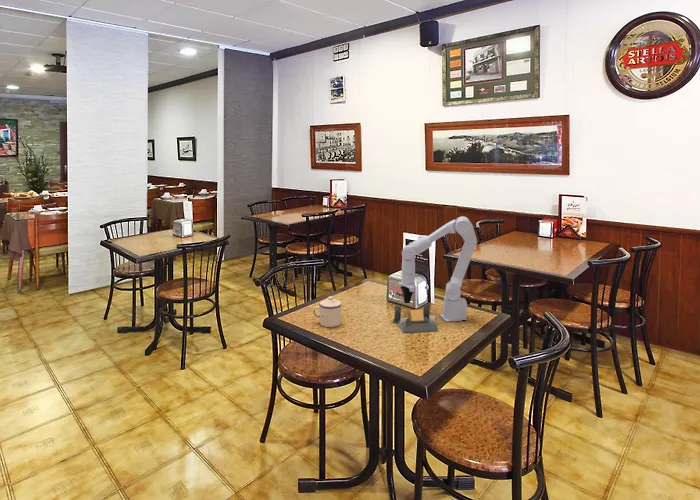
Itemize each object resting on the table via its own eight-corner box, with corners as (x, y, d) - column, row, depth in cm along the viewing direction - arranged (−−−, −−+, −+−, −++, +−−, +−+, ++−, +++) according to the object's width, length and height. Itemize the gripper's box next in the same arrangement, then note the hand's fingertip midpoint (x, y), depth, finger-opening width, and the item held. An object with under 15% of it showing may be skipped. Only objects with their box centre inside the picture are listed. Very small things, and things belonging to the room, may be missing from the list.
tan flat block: (424, 321, 182) (422, 310, 183) (424, 321, 181) (423, 309, 182) (410, 322, 181) (409, 310, 183) (411, 322, 180) (410, 310, 181)
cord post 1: (400, 319, 191) (401, 304, 189) (403, 323, 187) (403, 307, 185) (391, 320, 190) (392, 304, 189) (393, 323, 186) (394, 307, 185)
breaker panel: (430, 323, 187) (431, 312, 186) (437, 331, 179) (437, 319, 178) (398, 325, 185) (398, 314, 184) (403, 332, 177) (403, 321, 176)
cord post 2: (429, 318, 193) (429, 303, 191) (432, 321, 189) (432, 306, 187) (420, 318, 192) (420, 303, 191) (423, 322, 188) (423, 306, 187)
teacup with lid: (342, 320, 190) (342, 294, 187) (339, 328, 181) (339, 301, 179) (315, 318, 191) (314, 292, 189) (310, 326, 183) (310, 299, 180)
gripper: (395, 268, 200) (394, 297, 202) (403, 277, 186) (402, 308, 188) (410, 268, 201) (409, 297, 203) (419, 277, 187) (418, 307, 189)
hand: (407, 302), depth 196 cm, fingers closed
